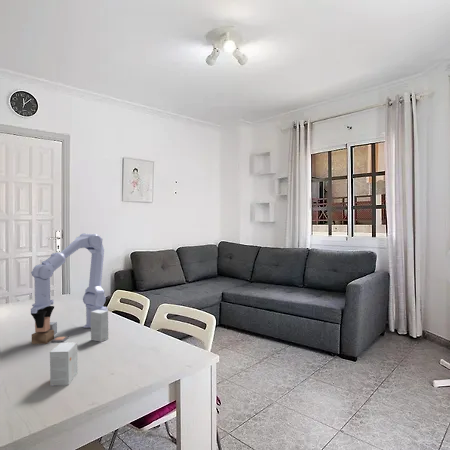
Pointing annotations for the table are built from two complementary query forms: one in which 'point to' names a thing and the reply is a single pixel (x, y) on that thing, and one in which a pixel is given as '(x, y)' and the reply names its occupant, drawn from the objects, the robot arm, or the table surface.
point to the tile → (60, 339)
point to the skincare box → (99, 325)
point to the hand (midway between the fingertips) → (42, 325)
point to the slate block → (53, 327)
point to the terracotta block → (45, 326)
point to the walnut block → (42, 337)
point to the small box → (63, 363)
